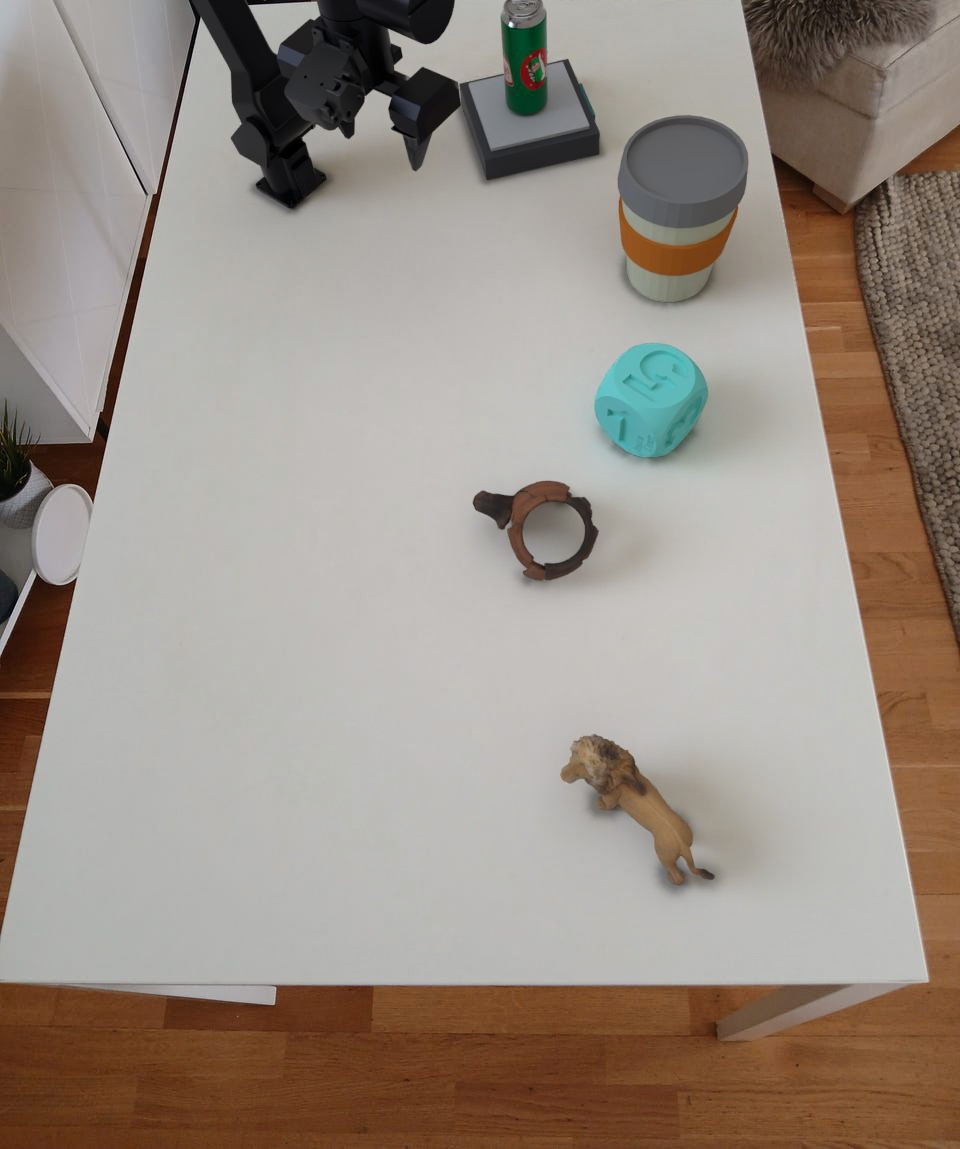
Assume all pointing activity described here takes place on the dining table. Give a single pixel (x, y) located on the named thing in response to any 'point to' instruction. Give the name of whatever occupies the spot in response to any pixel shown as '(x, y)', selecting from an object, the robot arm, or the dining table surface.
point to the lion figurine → (633, 799)
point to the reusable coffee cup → (678, 202)
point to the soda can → (524, 55)
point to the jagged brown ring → (518, 511)
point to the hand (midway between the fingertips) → (383, 152)
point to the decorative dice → (650, 399)
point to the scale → (530, 124)
